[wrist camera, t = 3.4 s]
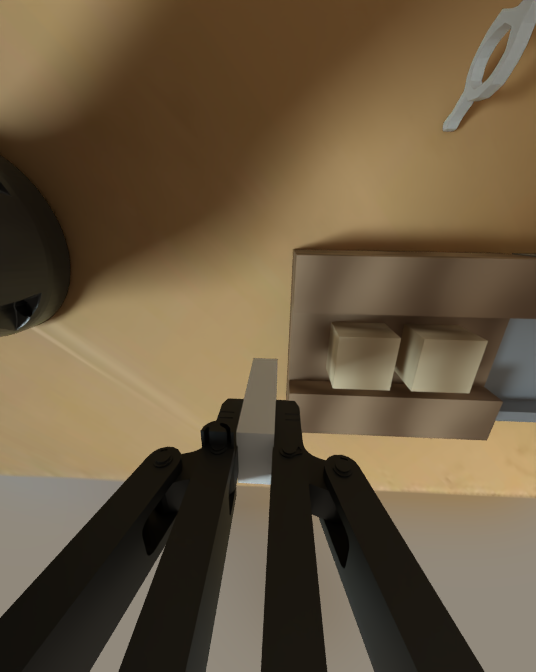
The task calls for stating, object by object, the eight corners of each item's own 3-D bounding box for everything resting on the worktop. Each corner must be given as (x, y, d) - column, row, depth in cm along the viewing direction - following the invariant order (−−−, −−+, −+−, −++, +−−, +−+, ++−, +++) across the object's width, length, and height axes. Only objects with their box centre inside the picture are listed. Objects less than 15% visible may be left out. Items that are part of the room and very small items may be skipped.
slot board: (286, 396, 26) (287, 431, 22) (293, 249, 21) (296, 255, 16) (449, 402, 26) (486, 440, 21) (499, 253, 20) (563, 260, 16)
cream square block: (326, 367, 22) (332, 388, 19) (331, 321, 20) (339, 336, 17) (375, 369, 21) (389, 390, 19) (384, 323, 20) (401, 338, 17)
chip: (394, 370, 21) (411, 391, 19) (404, 323, 20) (424, 339, 17) (444, 371, 21) (469, 393, 18) (458, 325, 20) (488, 340, 17)
